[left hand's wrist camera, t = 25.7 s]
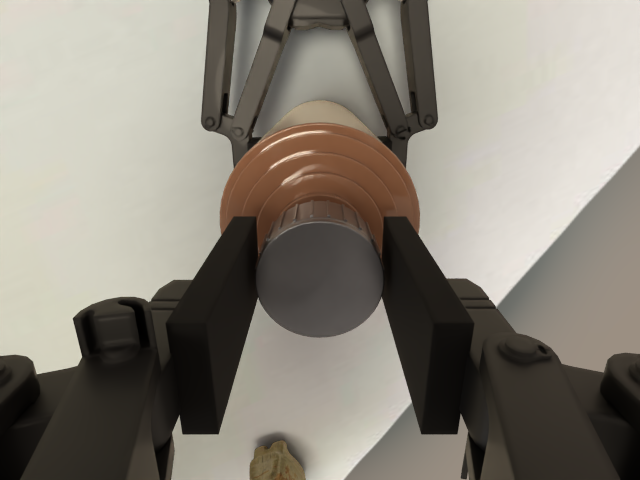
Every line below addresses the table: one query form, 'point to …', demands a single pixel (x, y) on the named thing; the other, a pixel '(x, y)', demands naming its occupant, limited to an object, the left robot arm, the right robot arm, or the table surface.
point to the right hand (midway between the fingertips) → (320, 227)
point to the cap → (319, 270)
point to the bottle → (319, 171)
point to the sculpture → (275, 464)
